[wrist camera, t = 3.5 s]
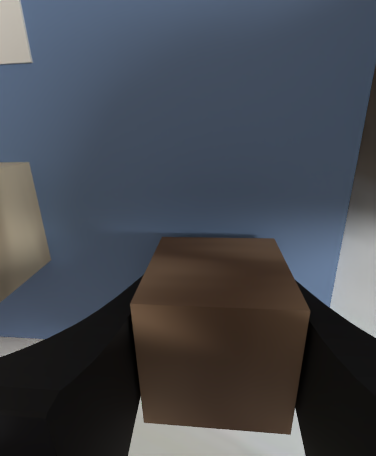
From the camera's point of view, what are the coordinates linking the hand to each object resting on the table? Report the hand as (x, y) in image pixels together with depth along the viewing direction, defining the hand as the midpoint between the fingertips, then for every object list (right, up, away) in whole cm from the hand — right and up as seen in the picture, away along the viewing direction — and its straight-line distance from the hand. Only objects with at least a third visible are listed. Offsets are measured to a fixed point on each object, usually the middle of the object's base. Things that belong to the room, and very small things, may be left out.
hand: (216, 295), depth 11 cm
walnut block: (0, 0, +1) cm, 1 cm away
